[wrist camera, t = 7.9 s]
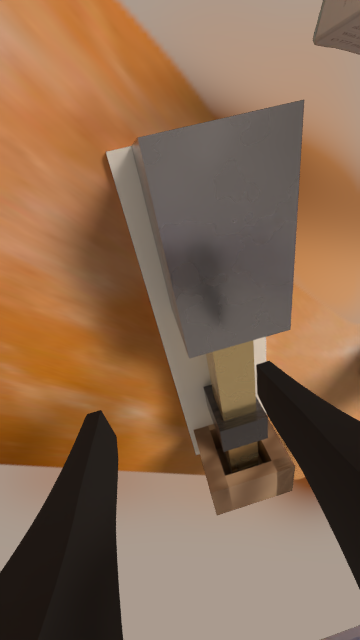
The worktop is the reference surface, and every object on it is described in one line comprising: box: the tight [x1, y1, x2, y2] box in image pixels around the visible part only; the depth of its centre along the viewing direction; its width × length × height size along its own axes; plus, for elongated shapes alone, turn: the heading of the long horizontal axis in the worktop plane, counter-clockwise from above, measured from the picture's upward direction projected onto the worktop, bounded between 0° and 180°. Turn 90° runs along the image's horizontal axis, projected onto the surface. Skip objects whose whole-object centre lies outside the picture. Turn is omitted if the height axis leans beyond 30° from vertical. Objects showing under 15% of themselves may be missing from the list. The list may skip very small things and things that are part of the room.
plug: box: [203, 340, 268, 474], centre depth 22 cm, size 4×19×5 cm, turn 11°
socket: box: [194, 420, 295, 515], centre depth 27 cm, size 8×5×6 cm, turn 101°
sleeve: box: [131, 100, 304, 359], centre depth 14 cm, size 6×10×6 cm, turn 11°
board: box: [106, 146, 266, 455], centre depth 23 cm, size 9×31×1 cm, turn 11°
